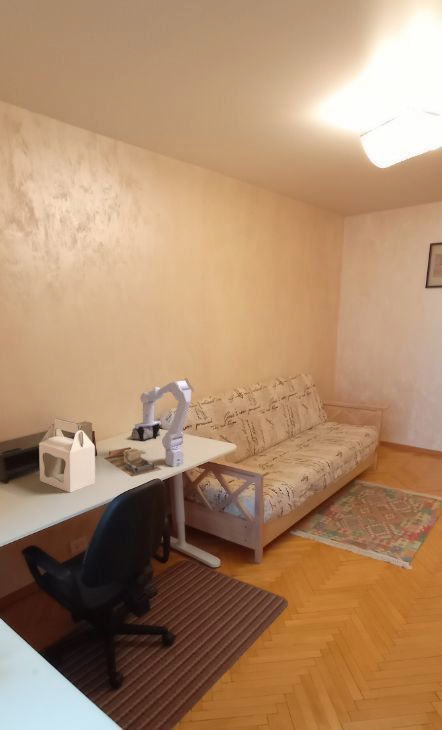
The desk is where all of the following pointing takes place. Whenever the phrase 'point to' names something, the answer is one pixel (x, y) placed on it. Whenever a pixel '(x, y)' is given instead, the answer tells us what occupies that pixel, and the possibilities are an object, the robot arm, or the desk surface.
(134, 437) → the geode
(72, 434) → the decorative block
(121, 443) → the desk surface
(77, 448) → the gable box
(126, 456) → the block
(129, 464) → the lane board
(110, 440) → the desk surface
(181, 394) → the robot arm
